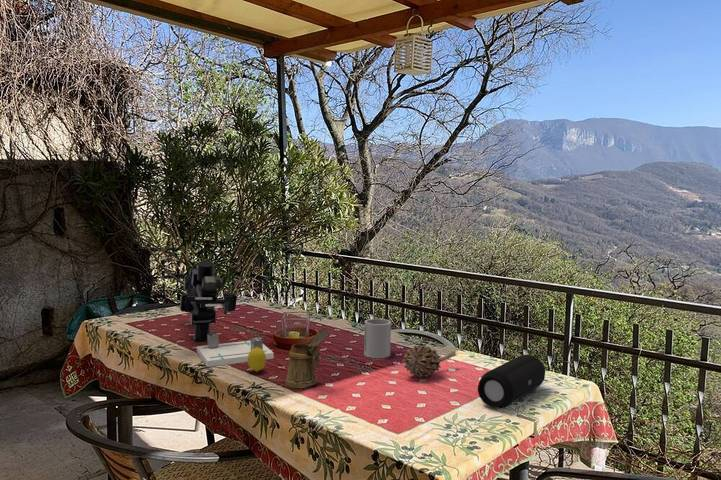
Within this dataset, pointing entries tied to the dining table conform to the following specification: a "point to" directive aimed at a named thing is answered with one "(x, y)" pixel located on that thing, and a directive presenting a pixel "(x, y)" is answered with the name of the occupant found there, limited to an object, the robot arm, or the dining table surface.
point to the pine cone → (424, 360)
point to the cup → (377, 338)
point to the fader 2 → (256, 343)
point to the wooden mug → (304, 362)
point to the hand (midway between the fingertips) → (212, 313)
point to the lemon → (256, 359)
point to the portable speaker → (511, 381)
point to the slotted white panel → (229, 353)
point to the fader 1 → (213, 340)
